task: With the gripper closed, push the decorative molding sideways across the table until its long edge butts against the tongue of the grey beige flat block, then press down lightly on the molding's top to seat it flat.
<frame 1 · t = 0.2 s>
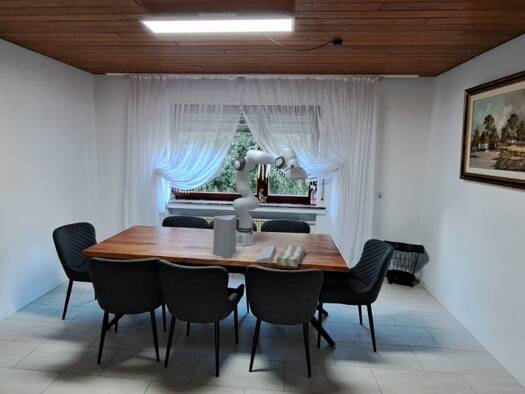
hand: (300, 185, 262), 54 cm above the table, tool tilted 30°, fingers open, 8 cm apart
tall grey upright block: (223, 254, 273), on the table
decorative molding: (266, 257, 271), on the table
grey beige flat block: (291, 258, 266), on the table
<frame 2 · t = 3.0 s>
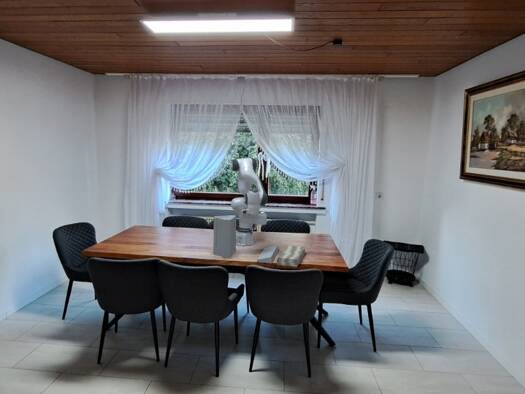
hand: (253, 229, 272), 19 cm above the table, tool pointing down, fingers closed
decorative molding: (268, 257, 271), on the table
everything else where it was.
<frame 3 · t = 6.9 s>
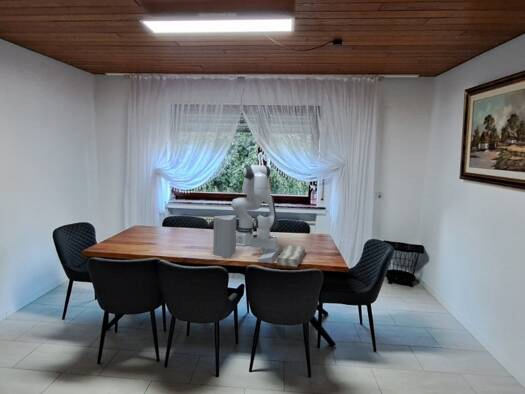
hand: (263, 253, 271), 2 cm above the table, tool pointing down, fingers closed
decorative molding: (270, 257, 271), on the table, touching gripper
everything else where it was.
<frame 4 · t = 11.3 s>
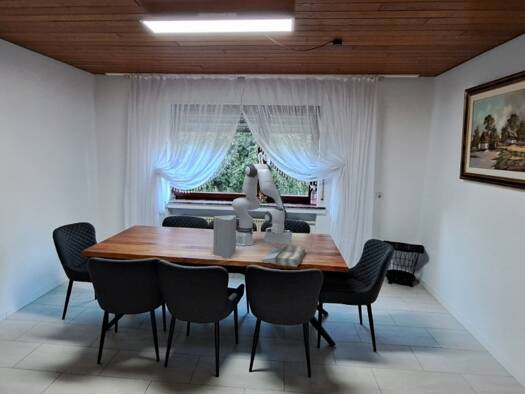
hand: (277, 248, 268), 7 cm above the table, tool pointing down, fingers closed
decorative molding: (274, 257, 271), on the table
everything else where it was.
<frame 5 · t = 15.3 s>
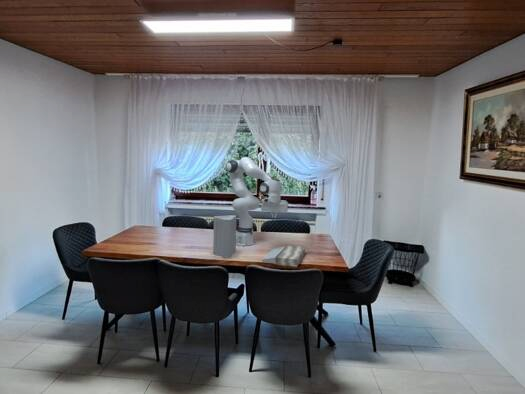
hand: (274, 217, 279), 27 cm above the table, tool pointing down, fingers closed
nothing on the table moved.
at the end: decorative molding inside the target area (1.4 cm from its centre), on the table; decorative molding tilted 0°; decorative molding moved 6.3 cm from its start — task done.
